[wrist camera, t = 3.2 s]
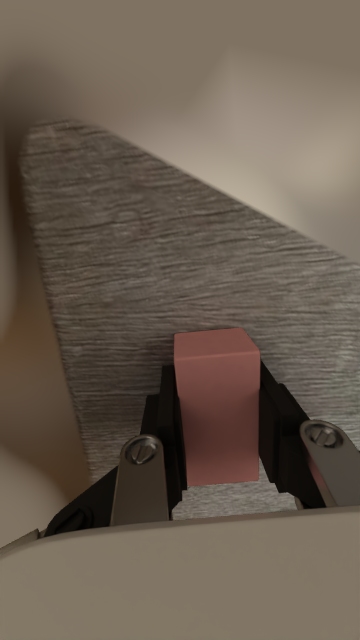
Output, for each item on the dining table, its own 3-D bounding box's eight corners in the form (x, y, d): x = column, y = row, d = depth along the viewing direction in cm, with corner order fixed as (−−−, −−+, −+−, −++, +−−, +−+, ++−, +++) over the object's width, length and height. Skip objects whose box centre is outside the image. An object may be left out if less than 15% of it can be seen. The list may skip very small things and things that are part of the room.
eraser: (174, 332, 11) (173, 359, 8) (242, 326, 11) (261, 351, 8) (185, 441, 13) (188, 487, 10) (243, 435, 13) (259, 481, 10)
